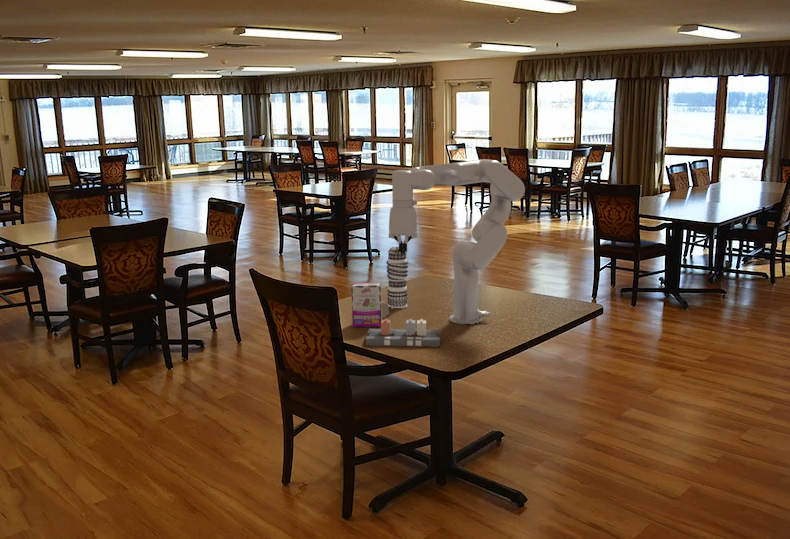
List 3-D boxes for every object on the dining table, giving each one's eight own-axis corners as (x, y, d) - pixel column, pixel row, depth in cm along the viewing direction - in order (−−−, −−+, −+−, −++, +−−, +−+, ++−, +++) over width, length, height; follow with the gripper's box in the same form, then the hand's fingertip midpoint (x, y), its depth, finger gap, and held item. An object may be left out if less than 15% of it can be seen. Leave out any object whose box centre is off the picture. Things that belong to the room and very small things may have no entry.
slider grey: (415, 332, 262) (415, 318, 261) (414, 335, 258) (414, 321, 257) (406, 332, 262) (406, 318, 261) (405, 335, 258) (405, 321, 257)
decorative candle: (395, 310, 300) (395, 250, 295) (382, 305, 308) (381, 247, 302) (412, 306, 306) (412, 248, 301) (398, 302, 313) (398, 245, 308)
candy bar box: (381, 323, 282) (381, 282, 278) (381, 327, 277) (381, 285, 273) (352, 323, 282) (352, 282, 278) (352, 327, 277) (351, 285, 273)
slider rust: (390, 331, 262) (390, 318, 261) (389, 335, 258) (389, 321, 257) (381, 331, 263) (381, 318, 261) (380, 334, 259) (380, 321, 258)
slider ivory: (426, 332, 262) (426, 318, 260) (425, 335, 258) (426, 321, 257) (417, 332, 262) (417, 318, 261) (416, 335, 258) (416, 321, 257)
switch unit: (439, 336, 266) (440, 327, 265) (439, 346, 254) (440, 337, 253) (369, 335, 267) (369, 326, 267) (365, 345, 255) (365, 336, 255)
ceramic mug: (379, 321, 285) (379, 302, 283) (362, 318, 289) (362, 299, 287) (394, 315, 293) (394, 297, 292) (377, 312, 298) (377, 294, 296)
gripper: (423, 202, 268) (423, 251, 272) (383, 202, 269) (383, 251, 273) (423, 205, 261) (422, 255, 265) (381, 205, 262) (382, 255, 266)
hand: (403, 253), depth 269 cm, fingers closed
